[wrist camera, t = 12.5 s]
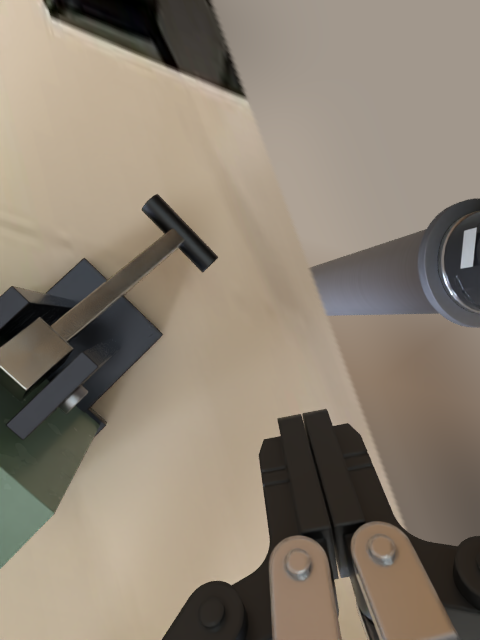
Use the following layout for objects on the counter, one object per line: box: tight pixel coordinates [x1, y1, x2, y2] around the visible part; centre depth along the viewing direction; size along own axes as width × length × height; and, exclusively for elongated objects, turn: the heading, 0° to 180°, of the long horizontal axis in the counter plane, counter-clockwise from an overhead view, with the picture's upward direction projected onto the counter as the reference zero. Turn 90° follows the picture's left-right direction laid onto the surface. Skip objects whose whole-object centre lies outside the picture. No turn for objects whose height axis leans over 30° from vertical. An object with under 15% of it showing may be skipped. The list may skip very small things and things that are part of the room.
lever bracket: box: [0, 258, 163, 440], centre depth 25 cm, size 10×8×14 cm
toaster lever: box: [0, 194, 218, 401], centre depth 23 cm, size 14×6×2 cm
